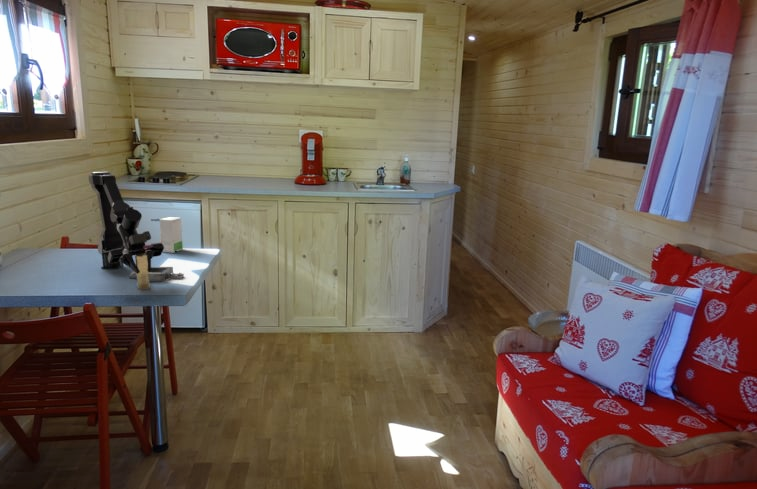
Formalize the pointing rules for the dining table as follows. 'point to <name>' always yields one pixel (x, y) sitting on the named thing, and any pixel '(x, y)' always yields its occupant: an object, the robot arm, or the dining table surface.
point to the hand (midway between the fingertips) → (143, 271)
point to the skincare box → (171, 234)
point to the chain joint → (160, 274)
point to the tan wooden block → (142, 271)
